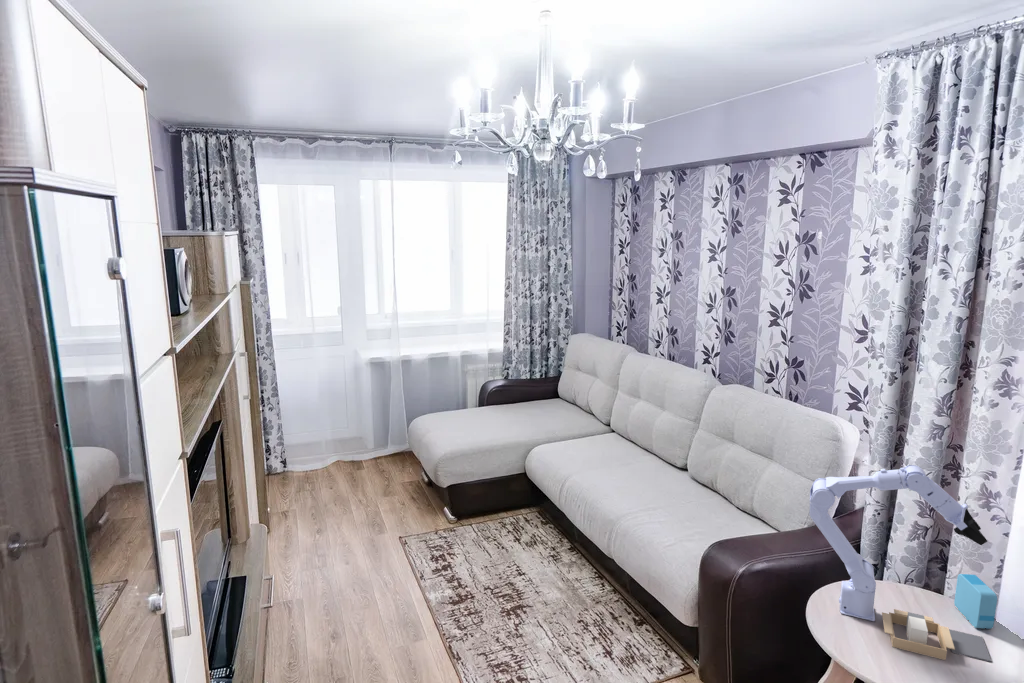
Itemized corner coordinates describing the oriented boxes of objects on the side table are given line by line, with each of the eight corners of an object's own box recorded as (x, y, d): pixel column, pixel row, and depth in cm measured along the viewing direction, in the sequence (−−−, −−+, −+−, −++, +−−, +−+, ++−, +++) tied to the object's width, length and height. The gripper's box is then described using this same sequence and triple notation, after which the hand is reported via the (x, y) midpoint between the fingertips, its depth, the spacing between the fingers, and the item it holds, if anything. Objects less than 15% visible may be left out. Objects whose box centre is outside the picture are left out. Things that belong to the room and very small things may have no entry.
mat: (951, 652, 172) (952, 651, 172) (945, 629, 182) (945, 628, 182) (991, 662, 168) (991, 660, 168) (981, 638, 178) (982, 636, 178)
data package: (993, 631, 181) (998, 595, 178) (976, 630, 181) (981, 594, 179) (968, 606, 192) (973, 572, 190) (953, 605, 193) (957, 571, 191)
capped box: (909, 646, 175) (911, 627, 174) (905, 629, 182) (907, 612, 181) (925, 650, 173) (928, 631, 172) (921, 633, 180) (923, 615, 179)
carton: (884, 644, 176) (885, 634, 175) (880, 615, 189) (881, 606, 188) (954, 662, 168) (955, 651, 168) (944, 630, 181) (946, 620, 181)
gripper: (958, 503, 167) (1000, 540, 164) (948, 483, 180) (987, 517, 177) (935, 517, 170) (976, 554, 168) (928, 497, 183) (965, 530, 180)
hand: (980, 536), depth 173 cm, fingers open, 7 cm apart
